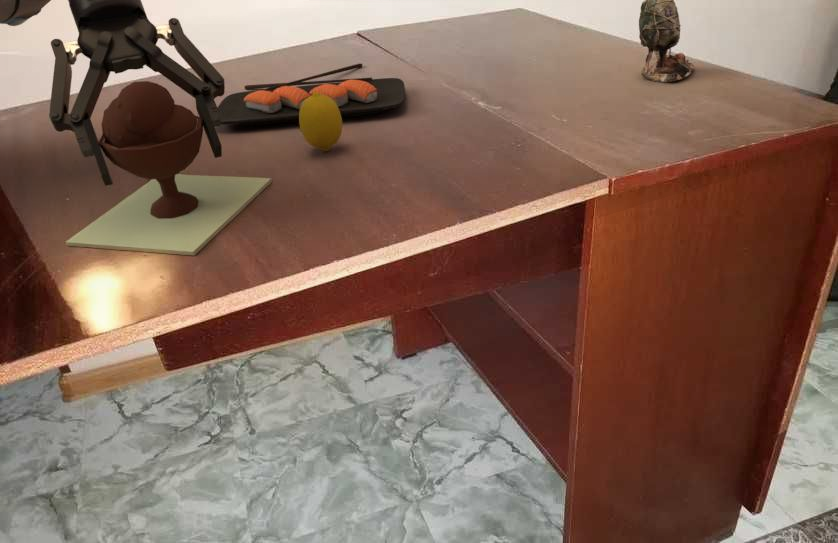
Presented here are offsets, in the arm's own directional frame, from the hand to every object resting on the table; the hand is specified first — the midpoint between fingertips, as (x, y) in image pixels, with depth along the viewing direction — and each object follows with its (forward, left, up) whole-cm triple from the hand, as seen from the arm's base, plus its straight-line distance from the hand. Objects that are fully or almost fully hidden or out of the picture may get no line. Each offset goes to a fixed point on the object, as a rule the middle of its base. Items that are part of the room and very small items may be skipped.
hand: (164, 165), depth 75 cm
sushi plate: (-2, +44, -7) cm, 45 cm away
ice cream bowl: (-2, +2, -6) cm, 7 cm away
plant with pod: (+52, +54, -7) cm, 75 cm away
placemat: (-2, +2, -7) cm, 7 cm away
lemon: (+9, +21, -7) cm, 24 cm away
